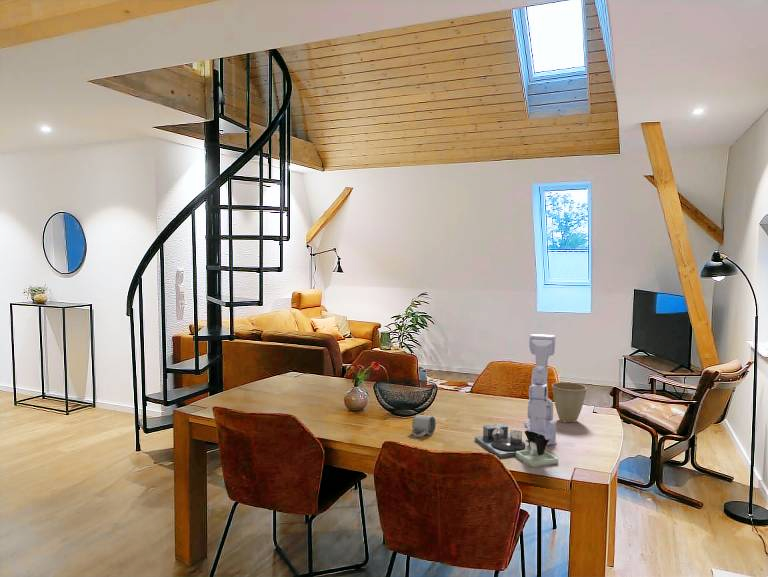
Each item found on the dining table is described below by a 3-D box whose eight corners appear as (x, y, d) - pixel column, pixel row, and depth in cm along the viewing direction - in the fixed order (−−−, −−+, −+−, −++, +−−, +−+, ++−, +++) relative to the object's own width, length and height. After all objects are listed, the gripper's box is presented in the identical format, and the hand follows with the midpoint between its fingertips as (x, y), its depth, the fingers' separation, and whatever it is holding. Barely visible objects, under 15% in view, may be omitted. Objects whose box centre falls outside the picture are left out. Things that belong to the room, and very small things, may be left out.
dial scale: (509, 436, 238) (509, 422, 237) (536, 453, 219) (537, 438, 219) (474, 440, 233) (475, 426, 232) (499, 458, 214) (500, 442, 213)
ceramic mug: (419, 428, 248) (418, 411, 247) (436, 431, 243) (436, 414, 243) (407, 436, 238) (407, 418, 238) (424, 439, 234) (425, 421, 234)
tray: (540, 453, 219) (540, 448, 219) (558, 463, 209) (558, 458, 208) (515, 456, 216) (515, 451, 215) (532, 467, 205) (532, 462, 205)
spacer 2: (538, 451, 214) (538, 439, 214) (544, 455, 210) (544, 443, 210) (527, 452, 213) (527, 440, 213) (533, 456, 209) (533, 444, 209)
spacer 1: (517, 439, 227) (518, 428, 227) (524, 443, 223) (524, 432, 223) (508, 441, 226) (508, 429, 226) (514, 444, 222) (514, 433, 221)
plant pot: (587, 426, 251) (588, 391, 250) (552, 424, 254) (553, 389, 253) (582, 416, 266) (584, 382, 265) (549, 414, 269) (550, 381, 267)
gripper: (517, 411, 216) (516, 446, 217) (539, 423, 203) (538, 460, 204) (533, 410, 219) (532, 444, 220) (556, 421, 205) (555, 458, 206)
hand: (536, 452), depth 212 cm, fingers closed on spacer 2, 4 cm apart
